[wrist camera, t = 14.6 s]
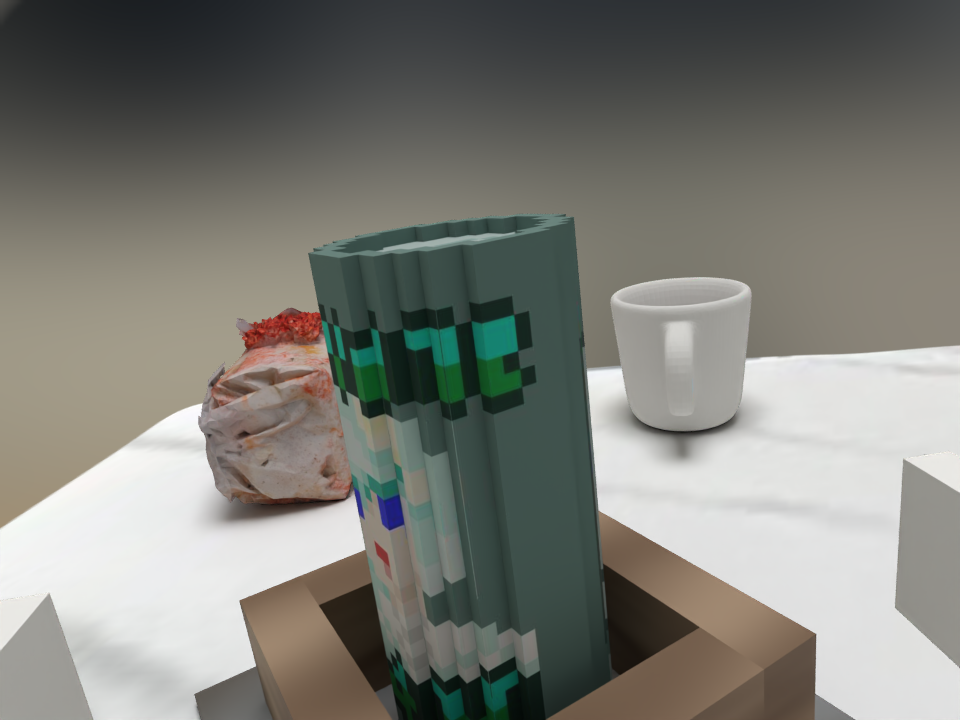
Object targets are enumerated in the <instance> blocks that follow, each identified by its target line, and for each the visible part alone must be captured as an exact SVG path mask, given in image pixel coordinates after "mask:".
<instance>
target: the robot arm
mask: <svg viewBox="0 0 960 720" xmlns="http://www.w3.org/2000/svg"><path fill="white" fill-rule="evenodd" d="M895 608H896V609H897V610H898V611H899V612H900V613H901V614H902V615H903V616H904V617H906V618H907V619H908V620H909V621H910V622H911V623H912V624H913V625H914V626H915V627H916V628H917V629H918V630H920V631H921V632H922V633H923V634H924V635H925V636H926V637H927V638H928V639H929V640H930V641H931V642H932V643H934V644H935V645H936V646H937V647H938V648H939V649H940V650H941V651H942V652H943V653H944V654H945V655H946V656H948V657H949V658H950V659H951V660H952V661H953V662H954V663H955V664H956V665H957V666H958V667H959V668H960V456H958V455H956V454H954V453H952V452H950V451H948V452H942V453H935V454H929V455H923V456H916V457H910V458H903V474H902V492H901V510H900V528H899V545H898V563H897V581H896V599H895ZM0 720H93V717H92V714H91V711H90V708H89V705H88V703H87V700H86V697H85V694H84V691H83V688H82V685H81V682H80V680H79V677H78V674H77V671H76V668H75V665H74V662H73V659H72V657H71V654H70V651H69V648H68V645H67V642H66V639H65V636H64V633H63V631H62V628H61V625H60V622H59V619H58V616H57V613H56V610H55V608H54V605H53V602H52V599H51V596H50V593H45V594H38V595H32V596H26V597H19V598H13V599H7V600H0Z"/></svg>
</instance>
